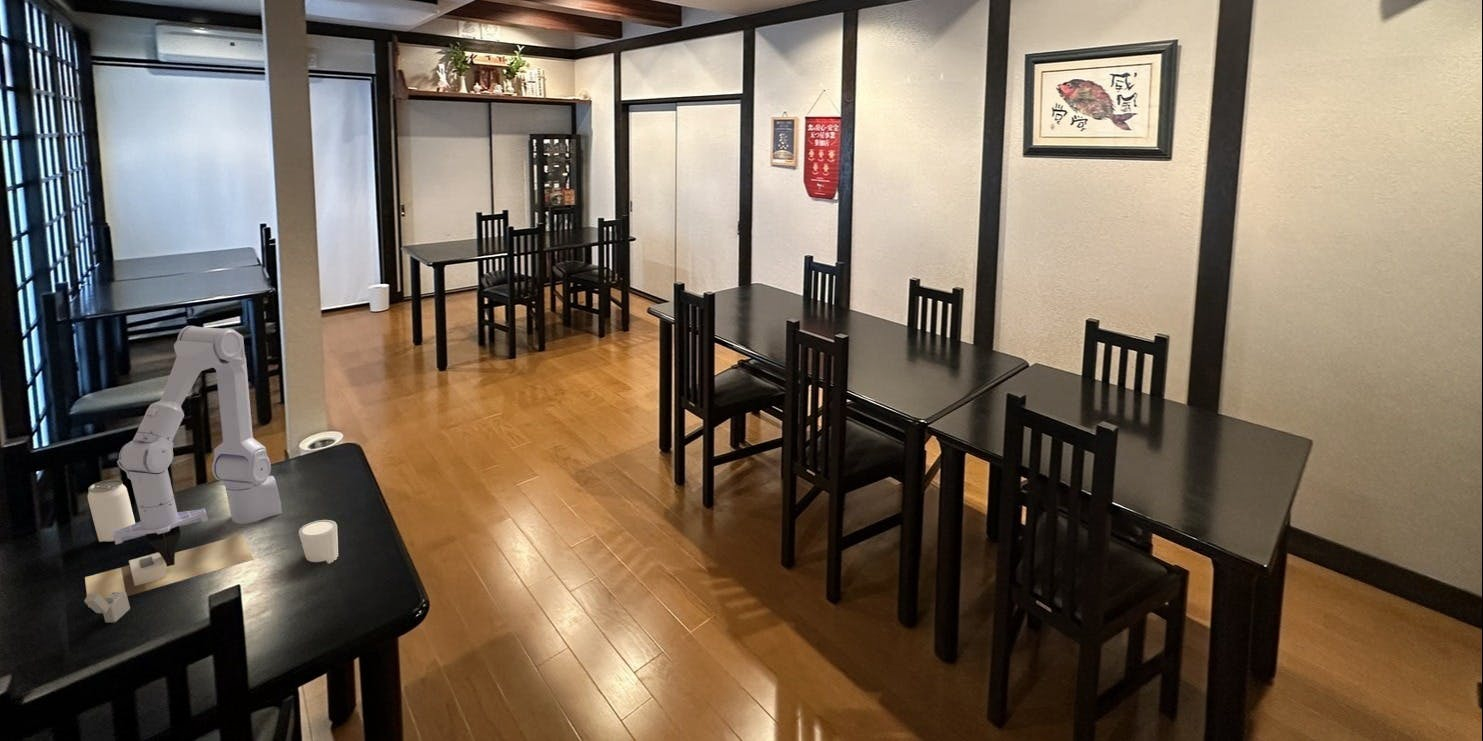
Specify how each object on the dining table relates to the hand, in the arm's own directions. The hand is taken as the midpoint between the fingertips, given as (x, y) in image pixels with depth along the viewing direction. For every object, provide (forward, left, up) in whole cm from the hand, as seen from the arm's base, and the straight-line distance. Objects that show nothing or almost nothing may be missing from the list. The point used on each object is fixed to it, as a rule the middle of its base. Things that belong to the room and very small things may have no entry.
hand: (170, 563), depth 156 cm
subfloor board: (0, 0, -2) cm, 2 cm away
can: (+7, -22, -2) cm, 23 cm away
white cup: (-24, +12, -2) cm, 27 cm away
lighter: (+10, +13, -2) cm, 17 cm away
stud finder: (+3, 0, -1) cm, 4 cm away
